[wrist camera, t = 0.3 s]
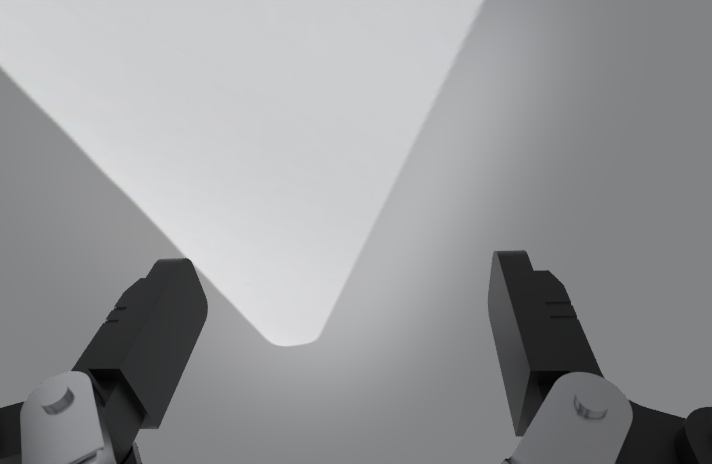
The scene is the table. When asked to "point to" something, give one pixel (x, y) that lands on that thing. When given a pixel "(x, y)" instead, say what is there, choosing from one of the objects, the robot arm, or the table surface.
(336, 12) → the table surface
